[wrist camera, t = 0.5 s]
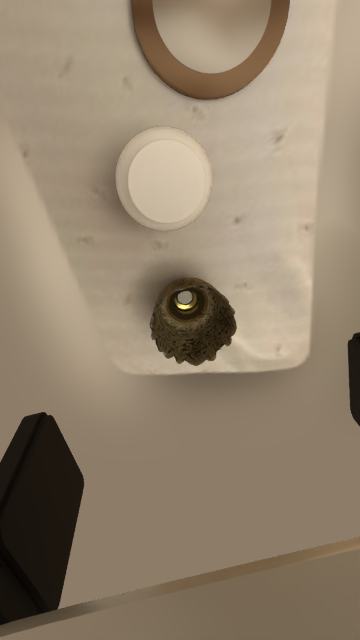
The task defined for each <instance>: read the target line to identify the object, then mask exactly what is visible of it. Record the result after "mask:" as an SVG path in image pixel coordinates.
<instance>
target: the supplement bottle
mask: <svg viewBox="0 0 360 640" xmlns="http://www.w3.org/2000/svg"><path fill="white" fill-rule="evenodd" d="M115 181H116V188H117V193H118V196H119V198H120V201H121V203H122V205H123V207H124V208H125V210H126V211H127V212H128V214H129V215H130V216H131V217H132V218H133V219H134V220H136V221H137V222H138V223H140V224H141V225H143V226H145V227H148V228H150V229H154V230H159V231H171V230H176V229H179V228H182V227H184V226H186V225H188V224H190V223H191V222H192V221H194V220H195V219H196V218H197V217H198V216H199V215H200V214H201V212H202V211H203V210H204V208H205V206H206V204H207V202H208V200H209V197H210V194H211V189H212V170H211V165H210V162H209V159H208V157H207V154H206V153H205V151H204V149H203V148H202V146H201V145H200V144H199V143H198V142H197V141H196V140H195V139H194V138H193V137H192V136H191V135H189V134H188V133H186V132H184V131H182V130H180V129H177V128H173V127H167V126H160V127H153V128H149V129H146V130H144V131H142V132H140V133H139V134H137V135H136V136H134V137H133V138H132V139H131V140H130V141H129V142H128V143H127V145H126V146H125V147H124V149H123V151H122V152H121V155H120V157H119V159H118V162H117V166H116V174H115Z"/></svg>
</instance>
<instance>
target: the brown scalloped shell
mask: <svg viewBox="0 0 360 640" xmlns="http://www.w3.org/2000/svg"><path fill="white" fill-rule="evenodd" d="M183 291H190V292H191V293H192V295H193V299H192V301H191V302H190V303H189V304H186V305H184V304H181V303H180V302H179V301H178V294H179V293H181V292H183ZM234 314H235V311H234V309H233V308H232V307H231V306H230V305H229V301H228V300H227V298H226V297H225V296H223V295H222V294H221V293H220V292H219V291H217V290H216V289H215V288H214V287H213V286H212V285H210V284H209V283H207V282H205V281H203V280H200V279H197V278H182V279H178V280H176V281H174V282H172V283H170V284H169V285H168V286H167V287H165V289H164V290H163V291H162V292H161V294H160V295H159V297H158V299H157V302H156V304H155V308H154V311H153V315H152V318H151V322H150V328H151V330H152V333H151V337H152V340H156V345H157V347H158V350H159V351H160V352H163V354H164V355H165V357H166V358H168V359H169V358H172V357H173V356H174V357H175V359H176V361H177V363H178V364H181V363H182V362H184V361H187V362H188V363H189V364H191V365H194V366H198V365H200V364H202V363H203V362H204V361H205V360H208V361H214V360H215V359H216V352H217V351H218V350H220V349H221V348H222V346H223V345H224V344H225V345H226V346H229V345H230V344H231V341H232V339H231V336H233V335H234V334H235V332H236V329H237V326H236V321H235V318H234ZM183 360H184V361H183Z"/></svg>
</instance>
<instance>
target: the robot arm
mask: <svg viewBox="0 0 360 640" xmlns="http://www.w3.org/2000/svg"><path fill="white" fill-rule="evenodd" d="M348 362H349V363H348V364H349V388H350V410H351V413H352V416H353V418H354V420H355V421H356V422H357V423H358V425H359V426H360V332H359V333H355V334H354V335H353V337H352V339H351V340H349V341H348ZM83 488H84V479H83V475H82V473H81V471H80V469H79V467H78V465H77V463H76V461H75V459H74V457H73V455H72V453H71V451H70V449H69V447H68V445H67V443H66V441H65V439H64V437H63V435H62V433H61V431H60V429H59V427H58V425H57V423H56V421H55V420H54V418H53V416H51V415H47V414H46V413H45V412H41V413H37V414H33V415H29V416H26V417H24V418H23V420H22V421H21V423H20V425H19V427H18V429H17V431H16V433H15V435H14V437H13V439H12V441H11V443H10V445H9V447H8V448H7V450H6V452H5V454H4V456H3V458H2V460H1V462H0V640H360V537H356V538H352V539H348V540H343V541H340V542H335V543H330V544H326V545H322V546H318V547H313V548H309V549H305V550H301V551H296V552H292V553H288V554H284V555H279V556H276V557H271V558H267V559H262V560H258V561H254V562H250V563H246V564H241V565H237V566H233V567H229V568H225V569H221V570H216V571H212V572H208V573H204V574H200V575H195V576H192V577H187V578H183V579H179V580H175V581H171V582H167V583H163V584H159V585H155V586H150V587H146V588H142V589H138V590H134V591H130V592H126V593H122V594H117V595H113V596H109V597H105V598H101V599H97V600H93V601H89V602H85V603H81V604H77V605H73V606H69V607H66V608H61V609H58V606H59V603H60V599H61V594H62V589H63V585H64V580H65V575H66V570H67V565H68V561H69V556H70V550H71V546H72V541H73V537H74V532H75V527H76V522H77V517H78V513H79V508H80V503H81V498H82V493H83ZM57 609H58V610H57Z"/></svg>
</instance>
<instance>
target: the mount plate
mask: <svg viewBox="0 0 360 640" xmlns="http://www.w3.org/2000/svg"><path fill="white" fill-rule="evenodd" d="M289 4H290V0H132V6H133V17H134V23H135V29H136V33H137V36H138V40H139V43H140V46H141V48H142V50H143V53H144V55H145V57H146V59H147V60H148V62H149V64H150V65H151V67H152V68H153V70H154V71H155V72H156V74H157V75H158V76H159V77H160V78H161V79H162V80H163V81H164V82H165V83H166V84H168V85H169V86H170V87H171V88H173V89H175V90H176V91H178V92H179V93H182V94H184V95H186V96H189V97H193V98H196V99H205V100H206V99H218V98H223V97H226V96H229V95H231V94H233V93H235V92H237V91H239V90H241V89H242V88H244V87H245V86H246V85H248V84H249V83H250V82H251V81H252V80H253V79H254V78H255V77H256V76H258V75H259V74H260V73H261V72H262V70H263V69H264V68H265V67H266V66H267V64H268V63H269V61H270V60H271V58H272V57H273V55H274V54H275V52H276V50H277V48H278V46H279V44H280V41H281V38H282V36H283V33H284V30H285V26H286V22H287V18H288V12H289Z"/></svg>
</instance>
